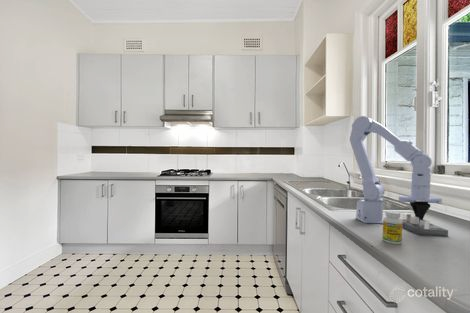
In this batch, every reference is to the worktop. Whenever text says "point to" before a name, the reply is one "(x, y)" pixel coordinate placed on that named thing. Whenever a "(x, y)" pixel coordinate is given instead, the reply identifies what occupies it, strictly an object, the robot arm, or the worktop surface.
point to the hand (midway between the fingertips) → (419, 221)
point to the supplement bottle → (392, 228)
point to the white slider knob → (414, 219)
